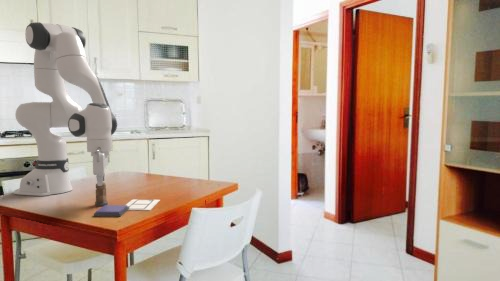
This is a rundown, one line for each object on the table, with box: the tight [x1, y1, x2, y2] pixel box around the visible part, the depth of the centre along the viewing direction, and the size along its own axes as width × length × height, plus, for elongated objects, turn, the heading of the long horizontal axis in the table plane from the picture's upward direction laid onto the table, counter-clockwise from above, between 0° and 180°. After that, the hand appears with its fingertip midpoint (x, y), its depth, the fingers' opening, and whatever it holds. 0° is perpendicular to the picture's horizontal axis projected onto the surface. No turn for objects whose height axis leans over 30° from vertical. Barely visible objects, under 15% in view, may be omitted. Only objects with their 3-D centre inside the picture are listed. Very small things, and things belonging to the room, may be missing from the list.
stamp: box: [94, 181, 109, 207], centre depth 134 cm, size 4×4×9 cm
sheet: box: [125, 198, 161, 211], centre depth 134 cm, size 11×14×1 cm
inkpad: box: [93, 204, 129, 218], centre depth 124 cm, size 9×9×2 cm
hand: (101, 183), depth 133 cm, fingers open, 8 cm apart
